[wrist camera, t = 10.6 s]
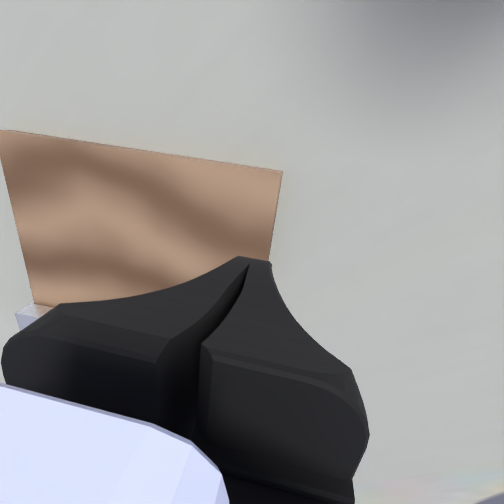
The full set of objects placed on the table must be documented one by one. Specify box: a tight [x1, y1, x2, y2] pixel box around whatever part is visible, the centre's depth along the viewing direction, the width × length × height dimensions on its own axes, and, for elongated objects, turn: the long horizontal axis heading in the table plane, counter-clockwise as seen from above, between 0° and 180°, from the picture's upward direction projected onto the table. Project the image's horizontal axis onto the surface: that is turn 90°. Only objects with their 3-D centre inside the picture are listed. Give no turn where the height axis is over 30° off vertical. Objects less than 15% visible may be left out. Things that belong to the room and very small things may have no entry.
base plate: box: [0, 130, 283, 307], centre depth 22 cm, size 20×20×4 cm
